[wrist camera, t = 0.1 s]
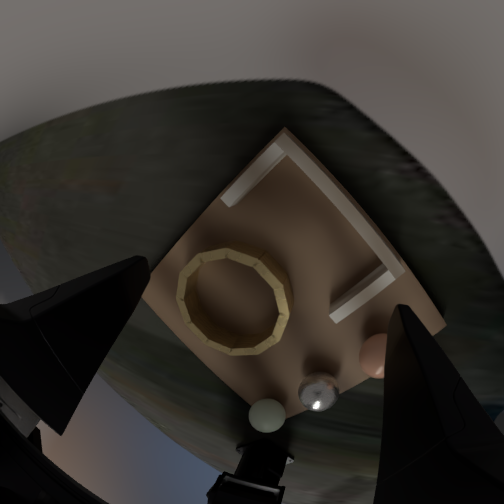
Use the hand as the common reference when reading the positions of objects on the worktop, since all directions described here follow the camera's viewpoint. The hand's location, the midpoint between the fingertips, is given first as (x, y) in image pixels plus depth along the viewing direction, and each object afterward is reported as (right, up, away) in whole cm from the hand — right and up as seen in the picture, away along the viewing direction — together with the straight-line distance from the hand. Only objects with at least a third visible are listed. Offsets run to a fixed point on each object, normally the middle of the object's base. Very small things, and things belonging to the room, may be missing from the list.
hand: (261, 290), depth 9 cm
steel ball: (+6, -12, +15) cm, 20 cm away
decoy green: (+1, -16, +18) cm, 24 cm away
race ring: (-1, -3, +17) cm, 17 cm away
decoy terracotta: (+11, -8, +12) cm, 18 cm away
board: (+3, -4, +17) cm, 18 cm away
